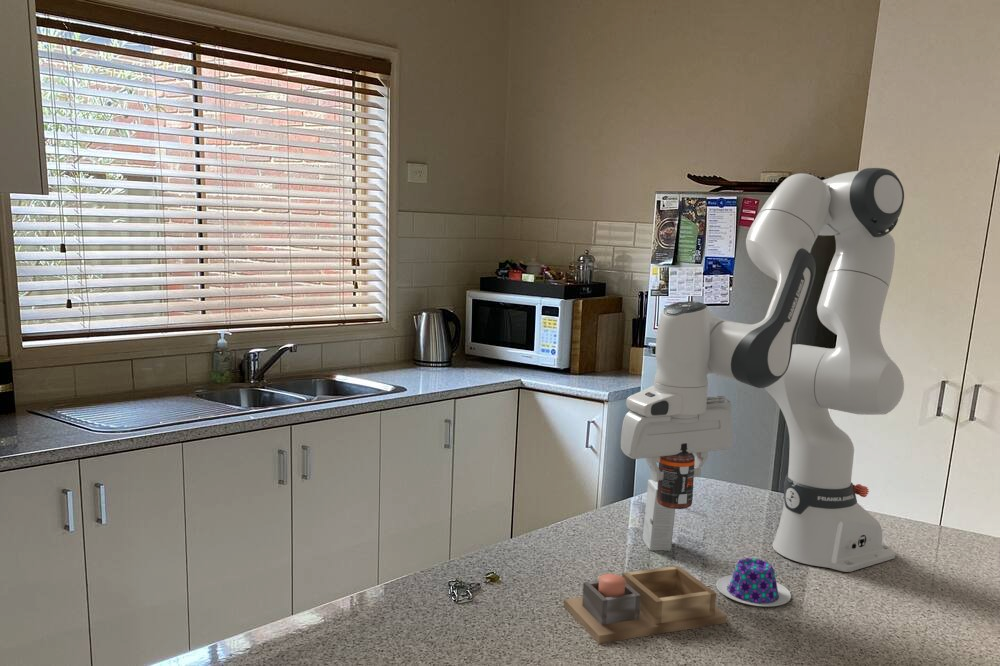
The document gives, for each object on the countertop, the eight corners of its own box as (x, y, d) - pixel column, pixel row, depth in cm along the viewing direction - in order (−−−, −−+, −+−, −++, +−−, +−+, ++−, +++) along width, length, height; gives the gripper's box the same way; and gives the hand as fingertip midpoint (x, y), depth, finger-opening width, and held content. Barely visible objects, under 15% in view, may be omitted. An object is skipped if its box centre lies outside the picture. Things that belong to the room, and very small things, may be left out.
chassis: (683, 589, 138) (685, 561, 138) (726, 622, 127) (728, 592, 127) (563, 606, 131) (565, 576, 130) (598, 643, 120) (600, 610, 119)
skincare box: (641, 538, 160) (645, 478, 158) (664, 539, 161) (668, 478, 159) (649, 551, 154) (654, 488, 152) (673, 551, 154) (677, 489, 153)
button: (616, 592, 129) (617, 572, 129) (629, 604, 125) (630, 583, 125) (593, 595, 128) (594, 575, 127) (605, 607, 124) (606, 586, 123)
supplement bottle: (692, 512, 138) (696, 446, 136) (656, 508, 139) (659, 443, 138) (691, 500, 144) (695, 436, 142) (656, 497, 145) (659, 434, 143)
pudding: (790, 616, 131) (792, 585, 130) (712, 602, 135) (714, 571, 134) (791, 586, 142) (794, 557, 141) (719, 573, 146) (721, 545, 146)
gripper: (720, 391, 145) (716, 466, 147) (617, 398, 138) (614, 478, 140) (743, 399, 140) (738, 478, 142) (636, 407, 132) (633, 490, 134)
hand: (675, 478), depth 141 cm, fingers closed on supplement bottle, 6 cm apart
